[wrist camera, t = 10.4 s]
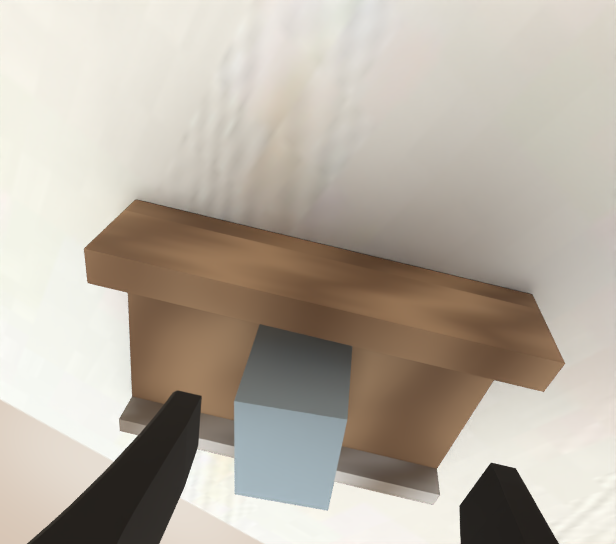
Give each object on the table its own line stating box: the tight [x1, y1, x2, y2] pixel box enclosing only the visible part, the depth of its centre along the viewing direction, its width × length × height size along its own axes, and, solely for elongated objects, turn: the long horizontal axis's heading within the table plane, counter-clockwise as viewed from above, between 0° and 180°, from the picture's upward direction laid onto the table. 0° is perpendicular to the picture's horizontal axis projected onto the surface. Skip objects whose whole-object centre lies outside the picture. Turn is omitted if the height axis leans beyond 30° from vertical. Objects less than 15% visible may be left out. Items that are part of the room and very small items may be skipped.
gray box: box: [234, 324, 352, 510], centre depth 19 cm, size 4×6×5 cm, turn 175°
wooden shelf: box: [84, 200, 565, 505], centre depth 21 cm, size 17×13×4 cm
